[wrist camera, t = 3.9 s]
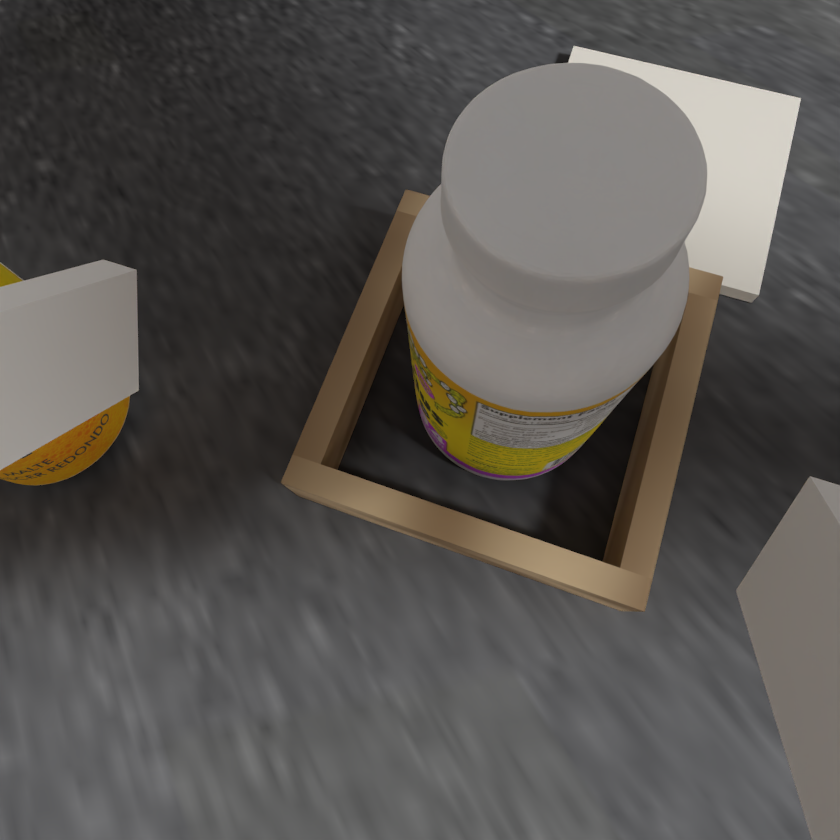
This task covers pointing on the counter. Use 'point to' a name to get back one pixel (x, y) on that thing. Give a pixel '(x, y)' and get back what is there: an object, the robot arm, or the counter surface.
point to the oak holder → (569, 571)
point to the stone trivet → (727, 166)
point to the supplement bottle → (548, 263)
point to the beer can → (66, 439)
